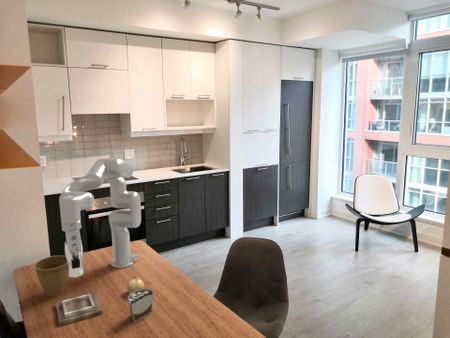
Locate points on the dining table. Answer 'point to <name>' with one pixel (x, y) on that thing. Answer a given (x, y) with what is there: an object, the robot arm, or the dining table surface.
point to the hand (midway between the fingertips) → (75, 264)
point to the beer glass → (72, 272)
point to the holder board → (78, 308)
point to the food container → (140, 303)
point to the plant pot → (52, 274)
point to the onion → (135, 285)
